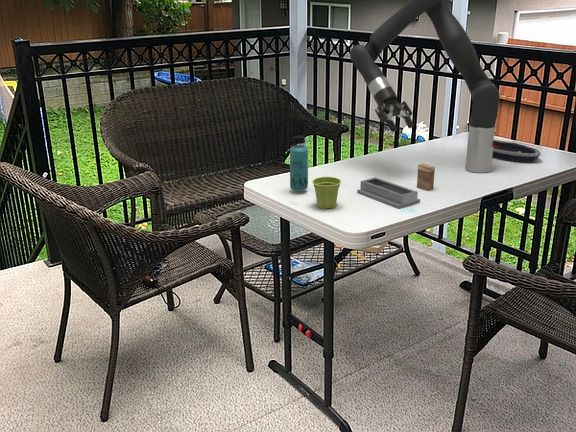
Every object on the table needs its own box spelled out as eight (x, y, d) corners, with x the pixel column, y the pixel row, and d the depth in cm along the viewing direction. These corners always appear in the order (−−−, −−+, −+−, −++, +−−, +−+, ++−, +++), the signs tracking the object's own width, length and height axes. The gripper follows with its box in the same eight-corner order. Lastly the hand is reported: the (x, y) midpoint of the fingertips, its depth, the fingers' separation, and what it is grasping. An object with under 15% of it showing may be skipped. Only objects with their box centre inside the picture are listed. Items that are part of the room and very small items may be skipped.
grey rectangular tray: (377, 186, 213) (378, 176, 212) (420, 202, 198) (420, 190, 197) (357, 192, 208) (357, 182, 207) (398, 209, 193) (399, 197, 191)
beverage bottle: (289, 189, 213) (288, 134, 206) (307, 188, 214) (307, 133, 206) (290, 195, 207) (289, 139, 200) (309, 194, 208) (309, 138, 200)
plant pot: (332, 213, 191) (332, 187, 188) (307, 207, 195) (307, 182, 192) (345, 204, 198) (346, 179, 195) (320, 199, 203) (321, 175, 200)
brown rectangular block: (422, 185, 214) (424, 163, 211) (433, 189, 210) (435, 166, 207) (416, 187, 212) (418, 164, 209) (427, 191, 209) (429, 167, 205)
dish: (526, 167, 232) (528, 155, 230) (461, 151, 255) (462, 140, 253) (548, 160, 241) (549, 148, 239) (483, 145, 263) (484, 134, 262)
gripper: (373, 87, 210) (395, 125, 206) (401, 83, 218) (423, 120, 214) (362, 100, 216) (383, 137, 212) (390, 96, 224) (411, 131, 220)
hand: (403, 128), depth 213 cm, fingers open, 8 cm apart
